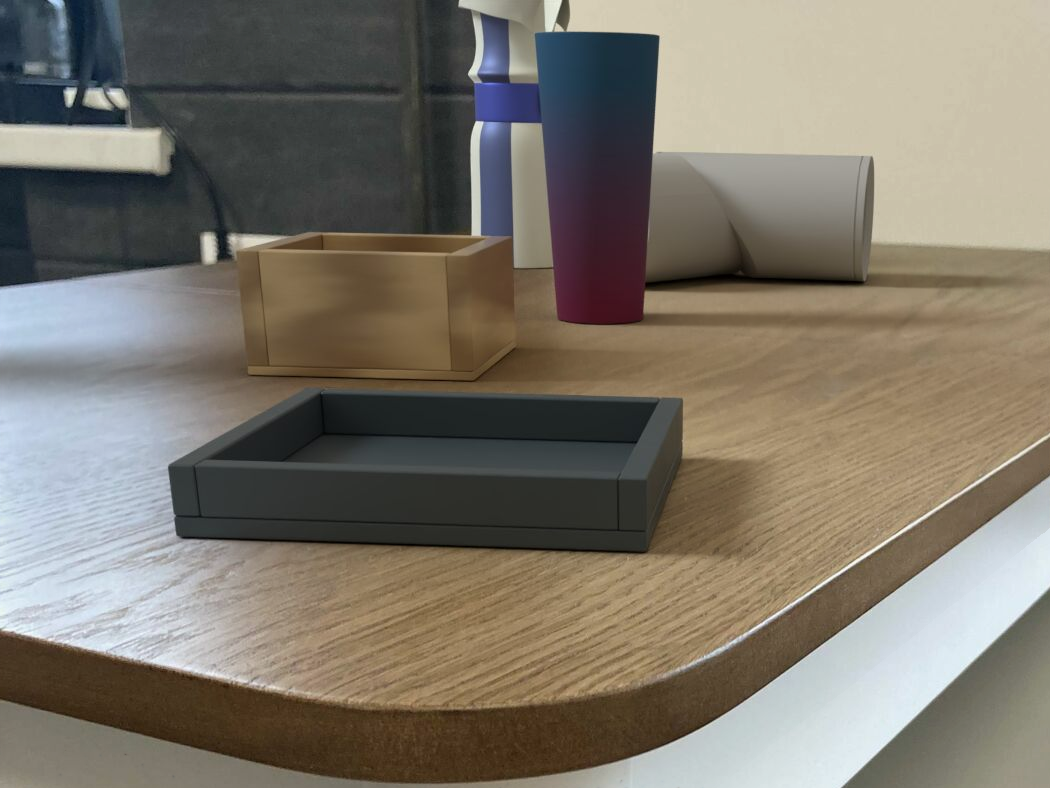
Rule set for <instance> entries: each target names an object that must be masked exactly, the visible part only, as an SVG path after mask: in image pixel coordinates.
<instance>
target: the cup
mask: <svg viewBox="0 0 1050 788" xmlns="http://www.w3.org/2000/svg"><path fill="white" fill-rule="evenodd" d="M660 37H661V36H660V34H655V33H654V34H653V33H642V32H625V31H624V32H622V31H584V30H583V31H581V30H580V31H578V30H577V31H574V30H573V31H571V30H570V31H568V30H567V31H564V30H562V31H554V32H537V33H535V44H536V57H537V69H538V82H539V94H540V107H541V119H542V132H543V144H544V157H545V169H546V182H547V194H548V207H549V219H550V232H551V245H552V257H553V267H552V269H553V270H552V271H553V280H554V281H553V282H554V293H555V305H556V306H555V307H556V318H557V319H558V320H560V321H564V322H568V323H577V324H594V325H599V324H600V325H609V324H611V325H612V324H615V325H616V324H628V323H635V322H639V321H642V320H644V311H645V293H646V283H645V277H646V260H647V243H648V226H649V209H650V192H651V175H652V158H653V153H654V142H655V141H654V139H655V123H656V121H655V120H656V108H657V107H656V106H657V91H658V90H657V89H658V73H659V56H660V55H659V54H660V40H661V39H660Z"/></svg>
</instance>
